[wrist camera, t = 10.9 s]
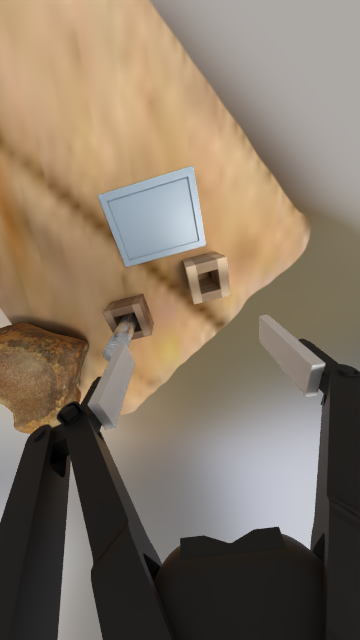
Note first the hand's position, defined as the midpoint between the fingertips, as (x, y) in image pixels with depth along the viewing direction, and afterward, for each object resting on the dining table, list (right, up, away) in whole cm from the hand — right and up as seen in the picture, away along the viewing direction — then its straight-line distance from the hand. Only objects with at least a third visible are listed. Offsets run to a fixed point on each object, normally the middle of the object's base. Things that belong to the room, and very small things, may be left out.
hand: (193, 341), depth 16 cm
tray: (-5, +19, +12) cm, 23 cm away
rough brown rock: (-29, -4, +23) cm, 37 cm away
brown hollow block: (-11, +4, +20) cm, 23 cm away
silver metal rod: (-11, +4, +20) cm, 23 cm away
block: (+3, +12, +16) cm, 20 cm away
